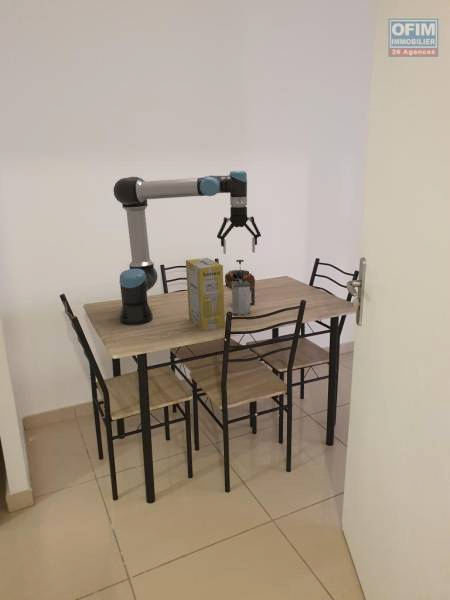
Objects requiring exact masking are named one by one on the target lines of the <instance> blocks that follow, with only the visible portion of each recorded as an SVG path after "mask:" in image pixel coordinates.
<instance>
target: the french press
mask: <svg viewBox="0 0 450 600" xmlns="http://www.w3.org/2000/svg"><path fill="white" fill-rule="evenodd" d="M235 262H236V263H238V264H239V265H241V264H242V263H243V262H245V260H244V259H236V260H235ZM235 270H236V271H232V270H231V271H232V272H231V273H232V277H233V278H238V277H237V275H236V272H237V271H238V270H243V269H241V266H239V269H235ZM243 271H244V273H245V275H247V276H248V273H250V271H249V270H246V269H245V270H243ZM233 281H239V280H237V279H235V280H233ZM242 281H245V280H244V279H242ZM247 281H248V280H247ZM248 282H249V281H248Z"/></svg>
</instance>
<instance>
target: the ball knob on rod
mask: <svg viewBox="0 0 450 600" xmlns="http://www.w3.org/2000/svg"><path fill="white" fill-rule="evenodd" d="M237 270H238V271H237V272H236V275H237V277H238V279H239V284H241V283H242V279H243V277H244V275H245V273H244V271H243V269H241V270H240V269H237Z"/></svg>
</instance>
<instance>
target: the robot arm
mask: <svg viewBox="0 0 450 600" xmlns="http://www.w3.org/2000/svg"><path fill="white" fill-rule="evenodd" d="M247 175H248V174H247V171H245V170H232V171H230V172H229V174H228V175H205V176H204V177H193V178H192V177H191V178H179V179H178V178H176V179H164V180H163V179H161V180H150V181H149V180H144V179H143V178H141V177H137V176H129V177H123V178H120V179H118V180H117V181H116V182H115V184H114V186H113V195H114V198H115V200H117V202H118V203H121V205H122V209H124V210H125V211H126V219H127V228H128V229H127V230H128V237H129V245H130V254H131V262H130V263H129V265H128V267H129V269H127V270H123V271H122V272H120V274H119V285H120V294H121V295H120V297H121V304H122V305H121V310H120V314H119V321H120V323H121V324H122V323H123V324H122V325H128V326H138V325H144V324H147V323H149V322H152V321H153V313H152V310H151V307H150V306H149V303H148V293H147V292H148V291H150V290H151V289H152V288H153V287H154V286H155V285H156V283H157V281H158V272H157V270H156V268H155V266H154V264H155V263H154V262H153V261H152V260H151V258H150V257H151V256H150V247H149V239H148V238H149V237H148V229H147V218H146V209H147V207H148V206H149V204H148V200H157V199H160V200H161V199H175V198H187V197H188V198H189V197H204V196H205V197H206V196H207V197H213V196H216V195H217V194H229V196H230V197H229V198H230V199H229V200H230V201H229V202H230V203H229V205H230V208H229V209H230V210H229V211H230V217H225V216H224V217H223V221H222V223H221V226H220V228H219V231H218V233H217V235H216V238H218V239H219V240H220V247H223V252H222V253H223V255H226V254H227V249H226V248H227V243H226V242H227V241H226V239H225V238H226V237H227V236H228V234H229V233H230V232H231V231H232V229H234V227H235V228H243V227H245V228H246V229H247V231H248V232H249V233H250V234H251V235H252V236H253V237H252V238H251V245H252V246H251V251H252V253H255V252H256V246H257V245H258V238H260V237H262V234H261V232H260V230H259V228H258V226H257V223H256V221H255V217H254V216H252V215H251V216H248V207H247V205H248V179H247V177H248V176H247ZM229 221H230V224H229V226H228V227H227V228H226V225H227V224H228V223H229ZM248 221H249V222H251V226H253V229H254V230H253V229H252V228H250V226H249V225H248V224H247V223H248ZM225 228H226V230H225ZM224 230H225V231H224ZM254 231H255V232H254Z"/></svg>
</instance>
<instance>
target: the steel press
mask: <svg viewBox="0 0 450 600" xmlns="http://www.w3.org/2000/svg"><path fill="white" fill-rule="evenodd" d="M250 290H251V291H250ZM255 300H256V299H255V286H254V287H250V284H249V282H248V281H247V280H245V281H242V283H241V284H239V281H232V288H231V301H232V302H231V306H232V311H231V312H232V315H234V316H242V317H243V316H247V315H251V306H256V304H255V303H256V301H255Z"/></svg>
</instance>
